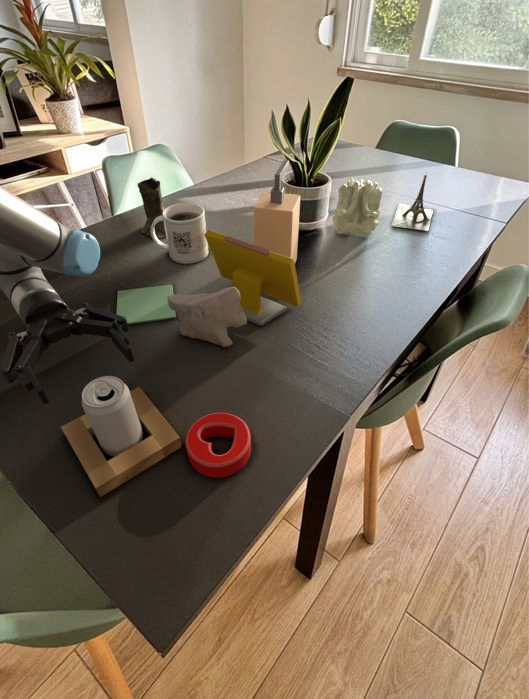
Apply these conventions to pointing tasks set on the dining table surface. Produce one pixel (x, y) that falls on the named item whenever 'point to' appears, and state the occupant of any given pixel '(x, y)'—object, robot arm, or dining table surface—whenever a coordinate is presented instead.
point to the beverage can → (112, 414)
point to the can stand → (129, 461)
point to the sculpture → (209, 314)
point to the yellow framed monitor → (256, 276)
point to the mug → (183, 232)
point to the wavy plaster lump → (358, 208)
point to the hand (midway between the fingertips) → (89, 375)
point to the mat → (145, 304)
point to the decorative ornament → (203, 452)
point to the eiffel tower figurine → (414, 213)
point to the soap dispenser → (277, 218)
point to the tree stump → (152, 206)
